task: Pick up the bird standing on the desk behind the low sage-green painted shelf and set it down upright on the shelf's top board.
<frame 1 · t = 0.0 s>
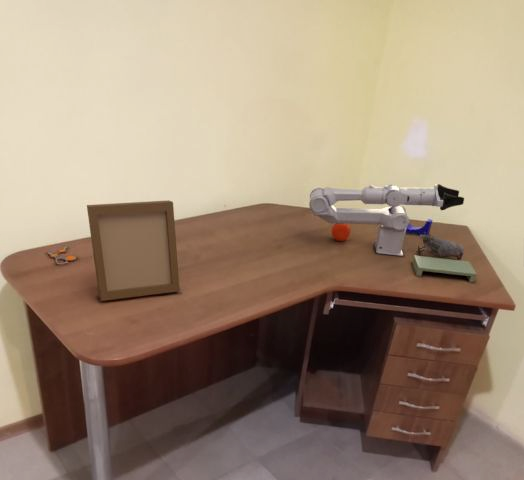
hand: (460, 197, 175), 22 cm above the table, tool horizontal, fingers open, 7 cm apart
photo frame: (136, 287, 150), on the table
key chain: (61, 256, 163), on the table
blue curved piece: (412, 232, 206), on the table
shelf: (442, 272, 176), on the table
red tomato: (337, 240, 193), on the table
bird: (438, 257, 187), on the table
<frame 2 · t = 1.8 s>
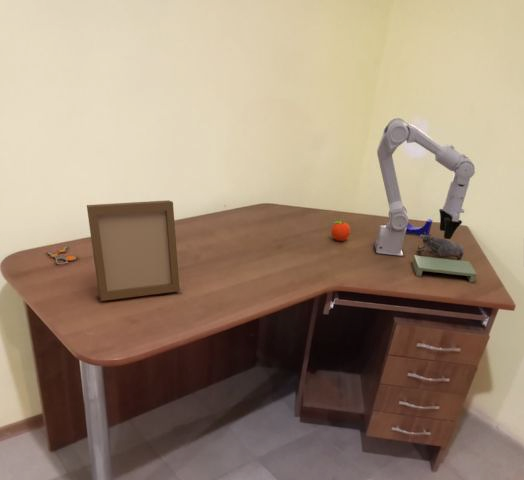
hand: (444, 234, 182), 9 cm above the table, tool pointing down, fingers open, 7 cm apart
nothing on the table moved.
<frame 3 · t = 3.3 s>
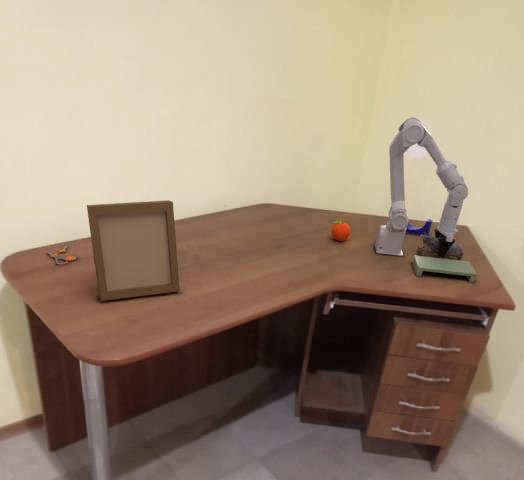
hand: (439, 253, 186), 2 cm above the table, tool pointing down, fingers closed on bird, 5 cm apart
bird: (438, 258, 187), on the table, touching gripper
everything else where it was.
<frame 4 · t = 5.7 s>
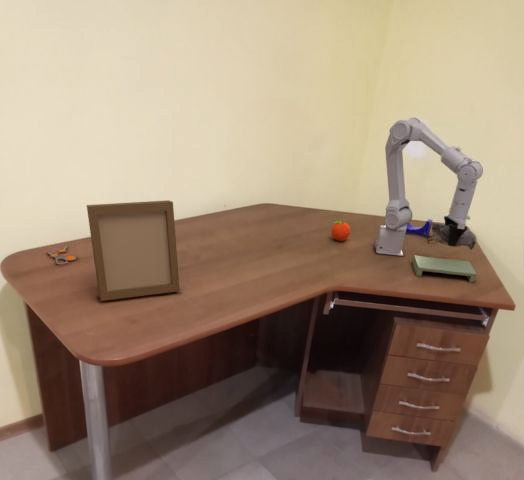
hand: (449, 242, 173), 10 cm above the table, tool pointing down, fingers closed on bird, 5 cm apart
bird: (448, 247, 174), point 8 cm above the table, touching gripper
everything else where it was.
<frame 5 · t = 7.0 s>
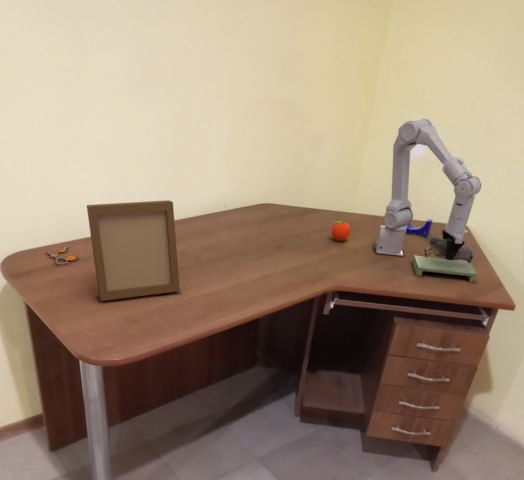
hand: (447, 255, 173), 6 cm above the table, tool pointing down, fingers closed on bird, 5 cm apart
bird: (445, 260, 173), point 4 cm above the table, touching gripper
everything else where it was.
when the fingers open (5 cm above the table, at t = 8.1 s): bird stays where it is, resting on shelf.
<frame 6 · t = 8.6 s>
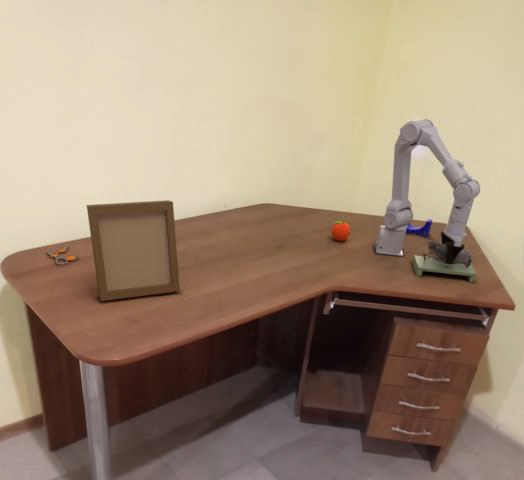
hand: (446, 258, 173), 5 cm above the table, tool pointing down, fingers open, 7 cm apart
bird: (444, 265, 174), point 3 cm above the table, touching shelf
everything else where it was.
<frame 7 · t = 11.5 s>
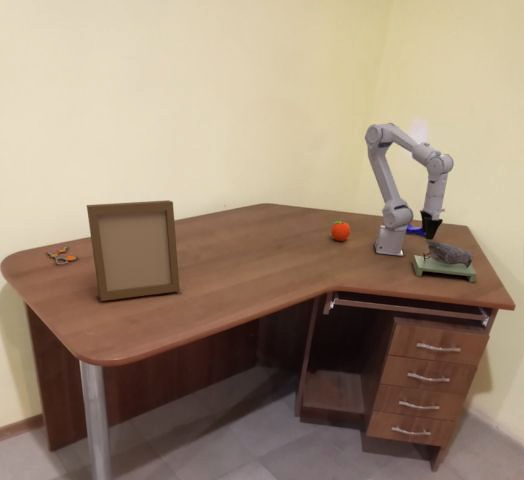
hand: (427, 235, 174), 10 cm above the table, tool pointing down, fingers open, 7 cm apart
nothing on the table moved.
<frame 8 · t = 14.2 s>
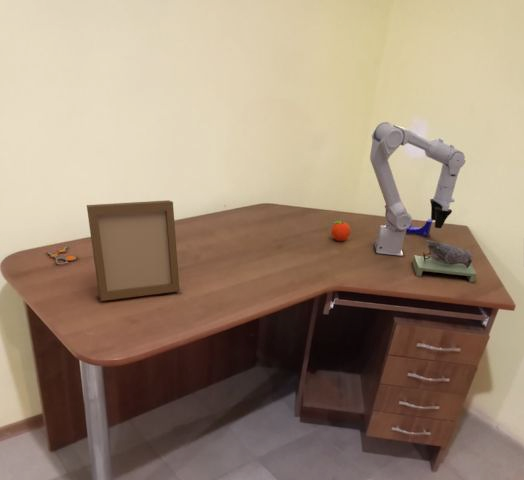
hand: (435, 223, 185), 10 cm above the table, tool pointing down, fingers open, 7 cm apart
nothing on the table moved.
at the end: bird inside the target area on the shelf (0.0 cm from its centre), point 2.8 cm above the shelf's base; bird tilted 0°; the gripper is holding nothing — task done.
